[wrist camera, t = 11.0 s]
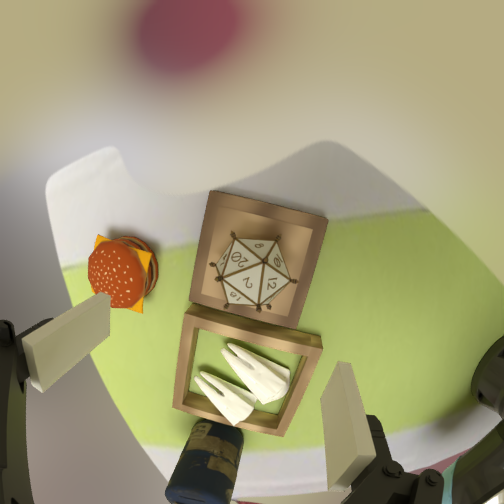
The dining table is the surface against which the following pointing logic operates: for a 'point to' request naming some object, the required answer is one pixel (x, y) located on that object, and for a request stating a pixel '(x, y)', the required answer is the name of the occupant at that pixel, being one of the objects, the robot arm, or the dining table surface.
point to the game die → (252, 272)
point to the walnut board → (258, 227)
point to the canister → (207, 465)
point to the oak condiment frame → (253, 334)
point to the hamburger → (123, 271)
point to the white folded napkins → (255, 378)
